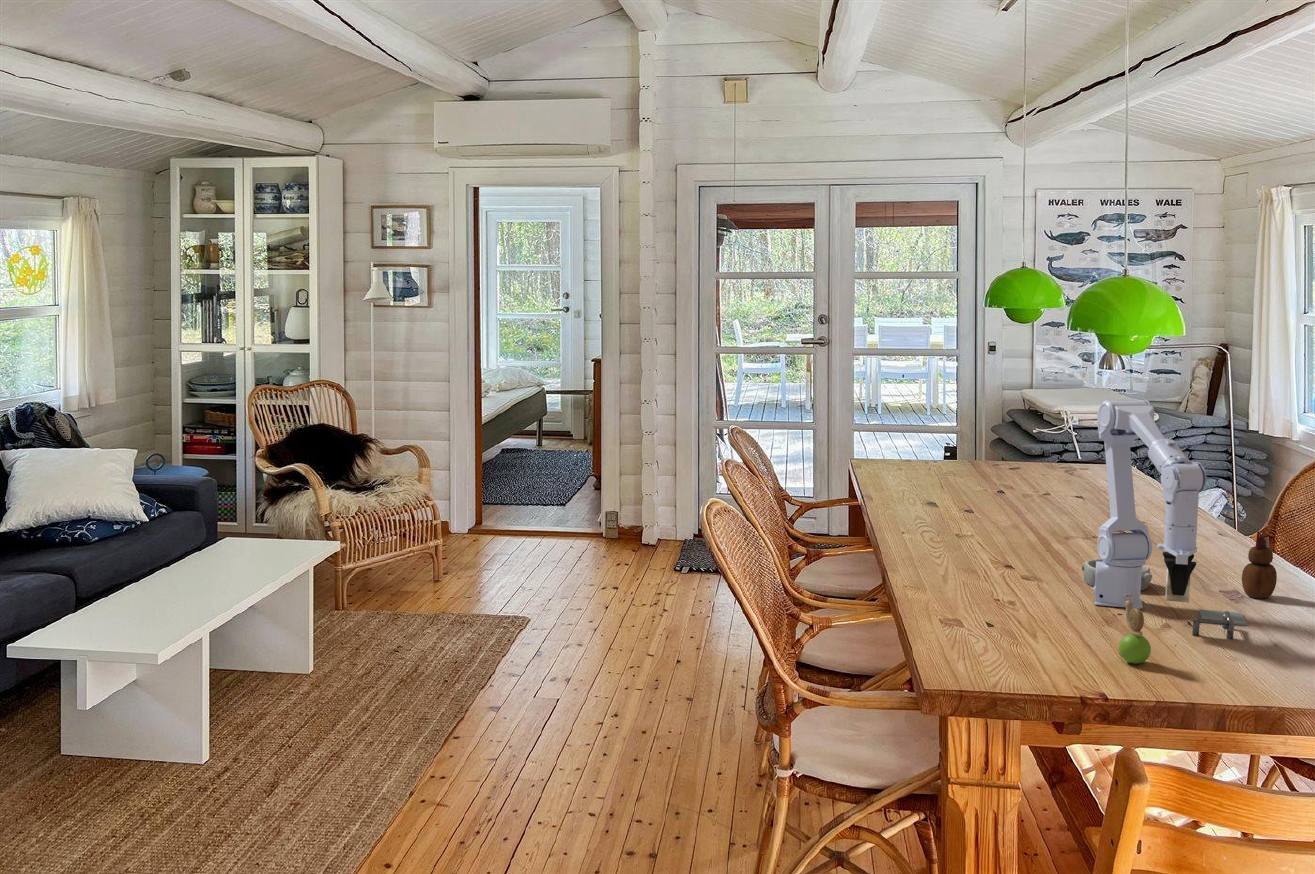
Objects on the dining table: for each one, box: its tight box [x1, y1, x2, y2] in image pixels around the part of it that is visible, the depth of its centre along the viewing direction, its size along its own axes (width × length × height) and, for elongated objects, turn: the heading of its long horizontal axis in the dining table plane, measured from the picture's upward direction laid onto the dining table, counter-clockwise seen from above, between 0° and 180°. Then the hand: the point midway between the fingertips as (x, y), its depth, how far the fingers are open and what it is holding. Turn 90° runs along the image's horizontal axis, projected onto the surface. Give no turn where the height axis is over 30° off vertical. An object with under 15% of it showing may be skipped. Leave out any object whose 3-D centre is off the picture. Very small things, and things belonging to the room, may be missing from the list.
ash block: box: [1164, 567, 1191, 604], centre depth 217 cm, size 4×4×6 cm
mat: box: [1198, 608, 1247, 627], centre depth 228 cm, size 8×8×1 cm
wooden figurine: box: [1241, 530, 1278, 600], centre depth 242 cm, size 7×6×15 cm
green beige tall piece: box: [1118, 594, 1152, 665], centre depth 202 cm, size 5×6×12 cm
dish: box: [1081, 558, 1153, 591], centre depth 255 cm, size 14×14×5 cm
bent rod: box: [1191, 610, 1235, 640], centre depth 219 cm, size 7×8×4 cm
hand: (1177, 591), depth 218 cm, fingers closed on ash block, 4 cm apart
